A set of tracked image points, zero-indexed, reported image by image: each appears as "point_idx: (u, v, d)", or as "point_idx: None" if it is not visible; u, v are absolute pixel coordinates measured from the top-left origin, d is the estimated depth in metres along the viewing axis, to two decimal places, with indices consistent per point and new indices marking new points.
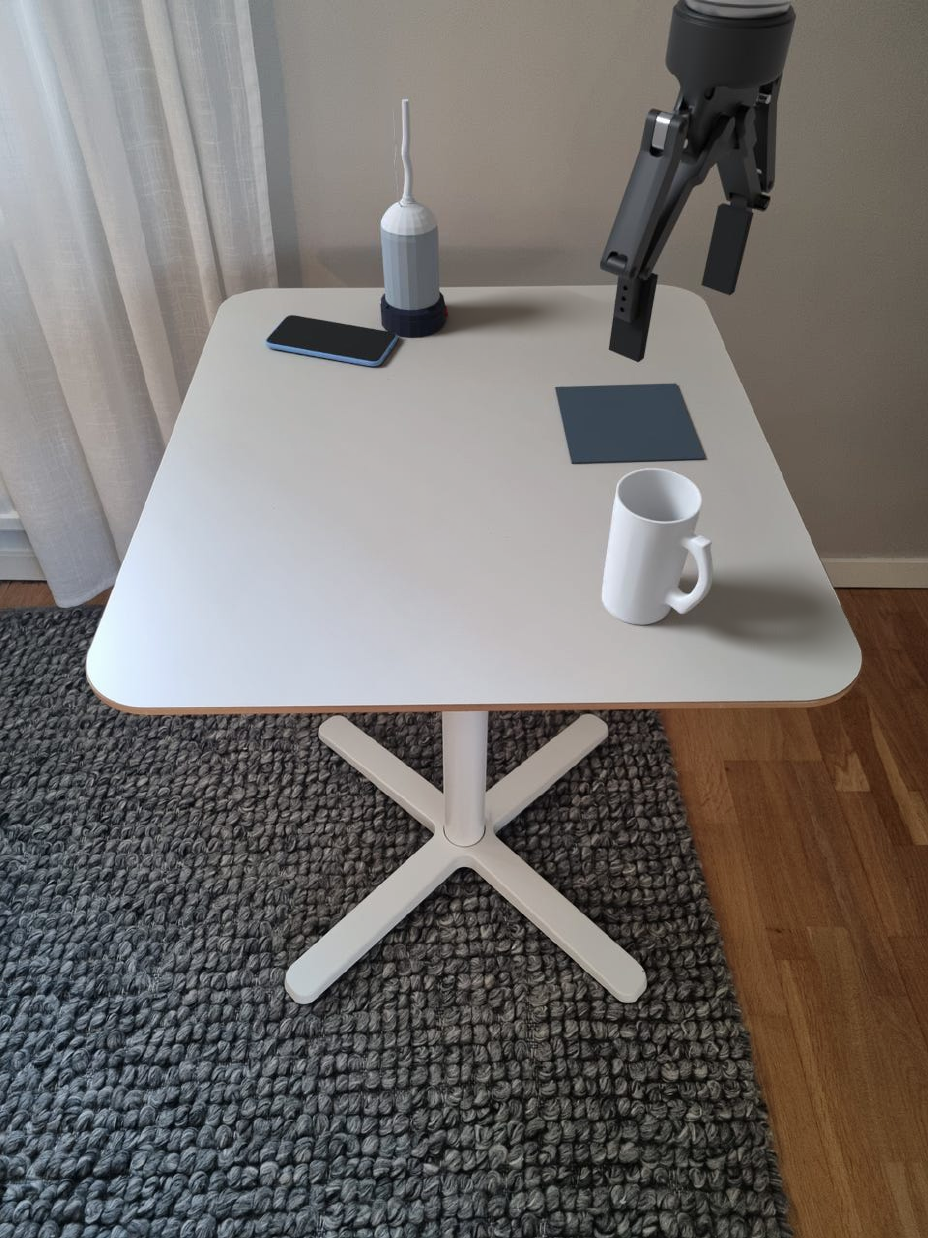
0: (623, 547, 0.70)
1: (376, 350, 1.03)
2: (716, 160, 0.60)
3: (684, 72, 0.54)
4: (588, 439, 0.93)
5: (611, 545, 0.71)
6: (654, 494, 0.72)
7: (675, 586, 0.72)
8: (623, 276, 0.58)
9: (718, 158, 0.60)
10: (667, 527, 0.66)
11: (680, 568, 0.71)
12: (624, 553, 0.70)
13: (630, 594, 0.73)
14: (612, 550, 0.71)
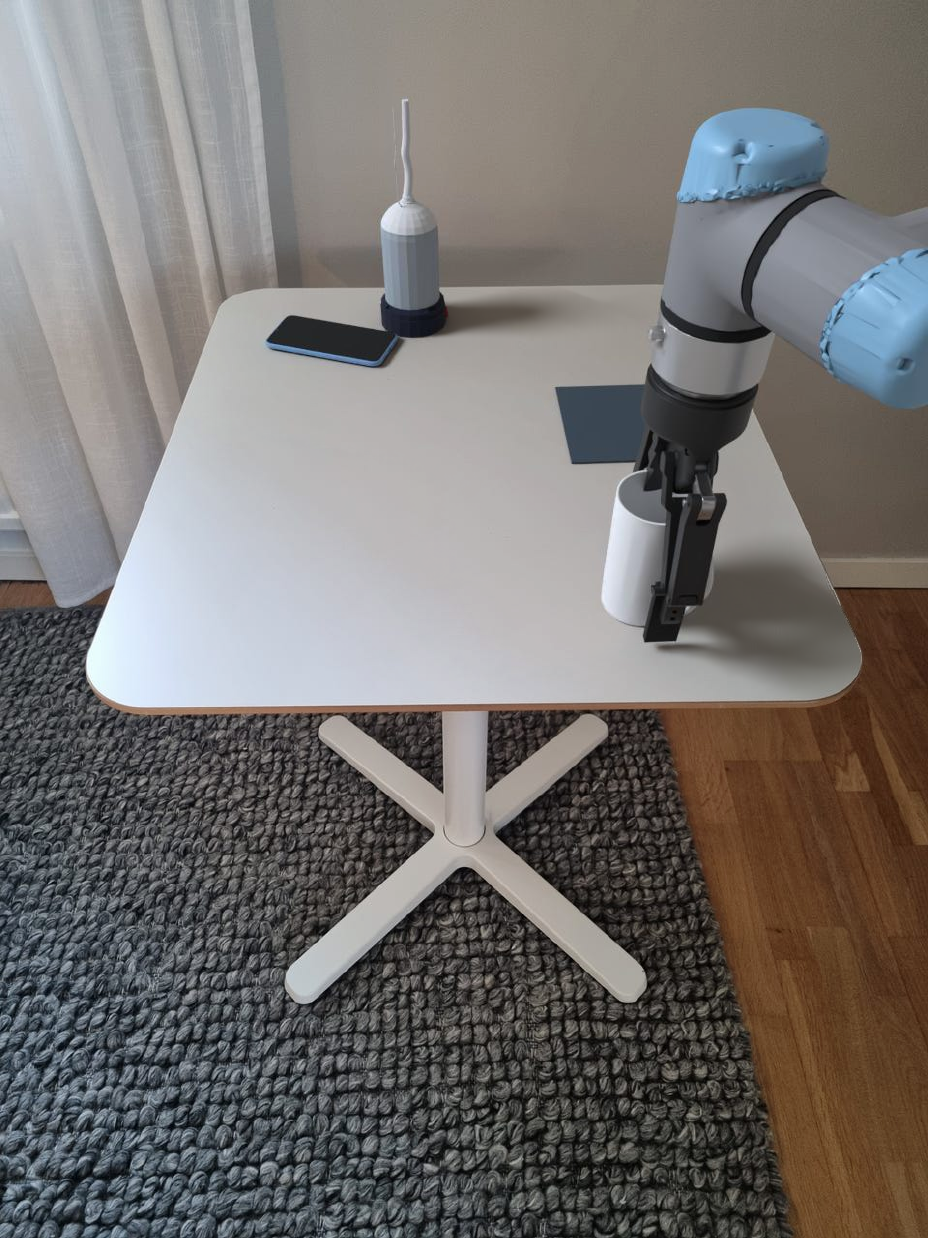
0: (624, 549, 0.69)
1: (376, 350, 1.03)
2: None
3: (696, 444, 0.59)
4: (588, 439, 0.93)
5: (611, 547, 0.71)
6: (654, 495, 0.72)
7: None
8: None
9: None
10: None
11: None
12: (625, 555, 0.70)
13: (631, 596, 0.72)
14: (612, 552, 0.71)
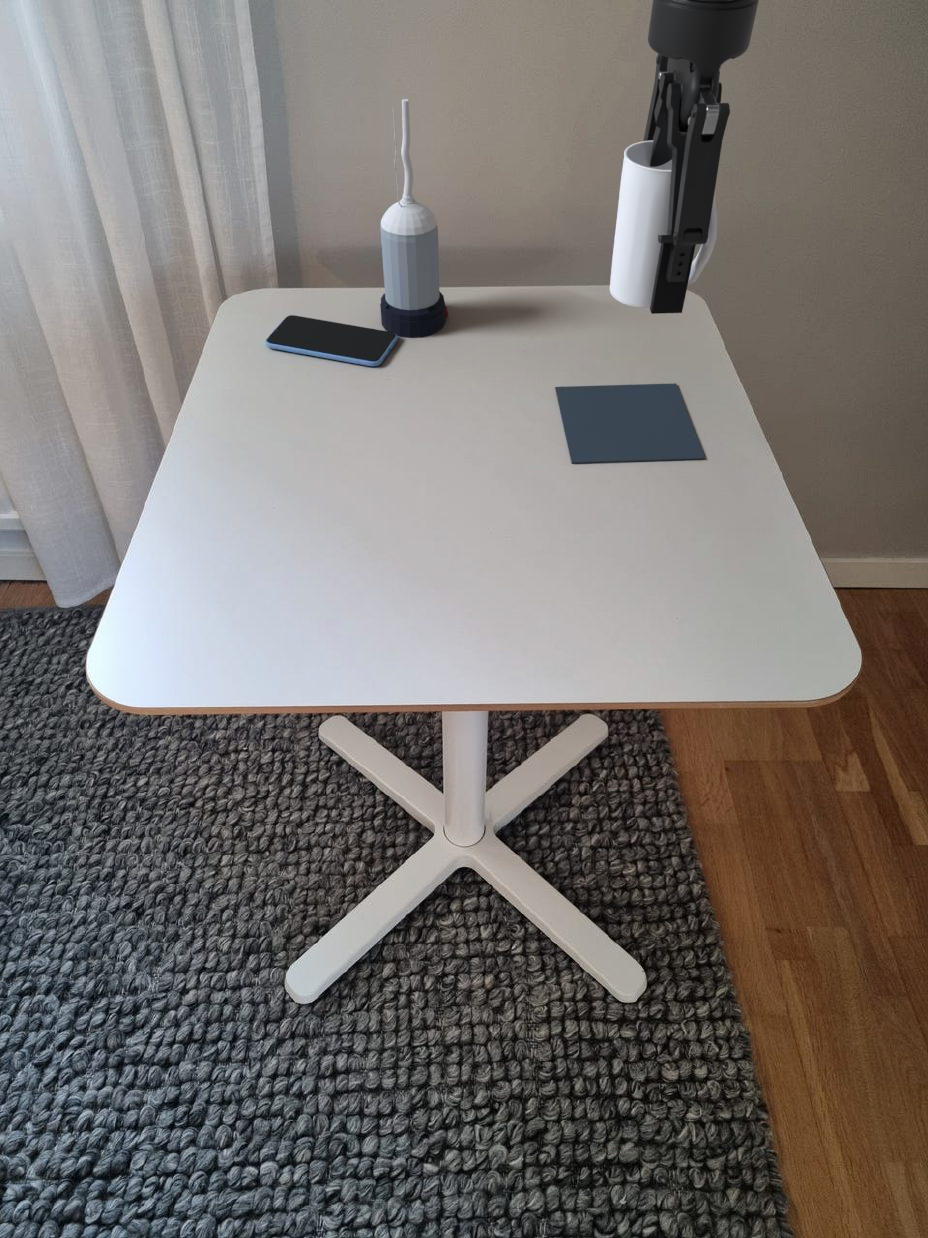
0: (631, 211, 0.73)
1: (376, 350, 1.03)
2: None
3: (700, 54, 0.63)
4: (588, 439, 0.93)
5: (619, 217, 0.75)
6: None
7: None
8: (699, 243, 0.69)
9: None
10: None
11: None
12: (632, 218, 0.74)
13: (638, 269, 0.76)
14: (620, 222, 0.75)
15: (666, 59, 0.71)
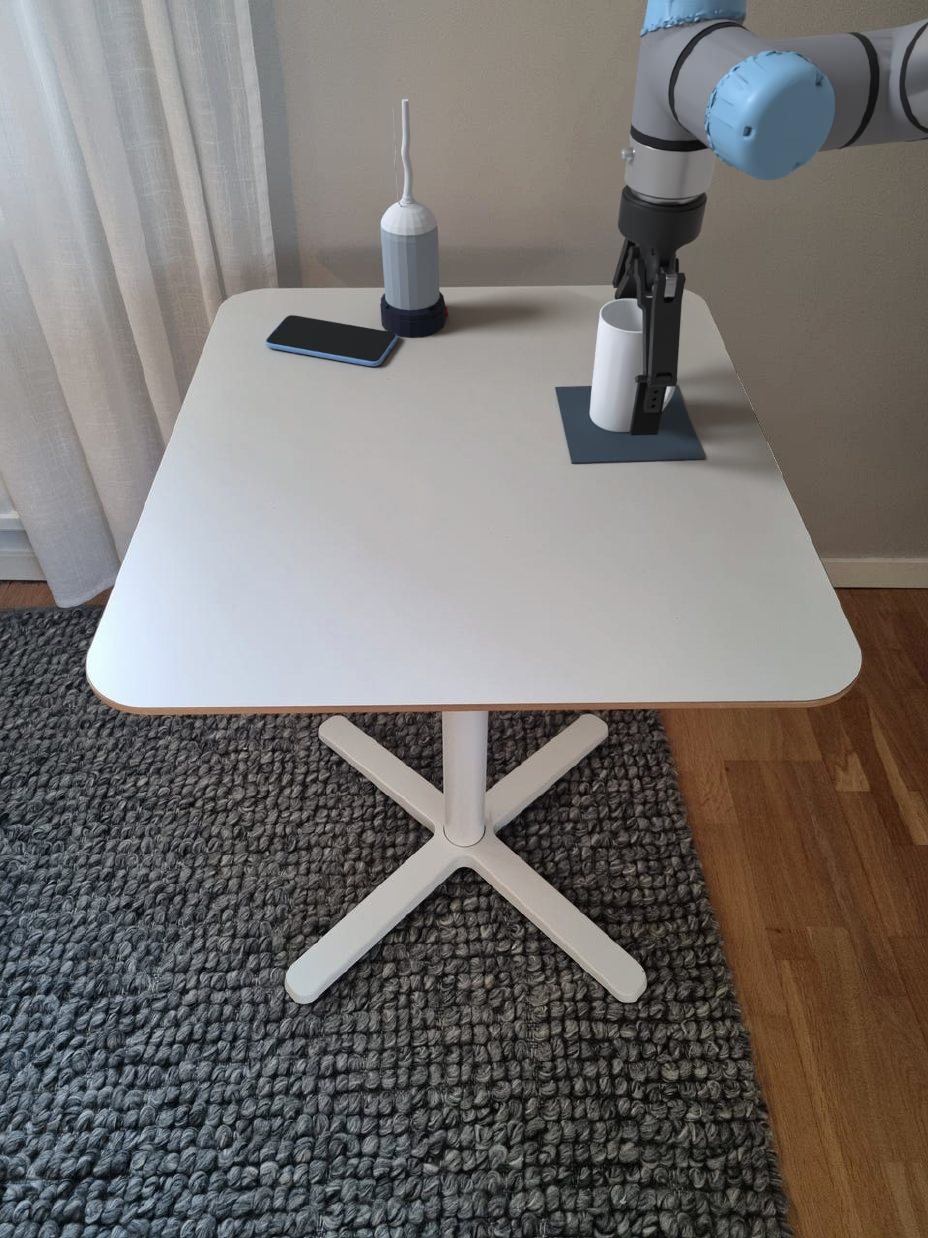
0: (606, 359, 0.88)
1: (376, 350, 1.03)
2: None
3: (659, 243, 0.77)
4: (588, 439, 0.93)
5: (596, 361, 0.90)
6: (630, 322, 0.91)
7: None
8: (670, 385, 0.80)
9: None
10: (640, 336, 0.85)
11: None
12: (607, 365, 0.88)
13: (612, 403, 0.91)
14: (597, 365, 0.90)
15: None
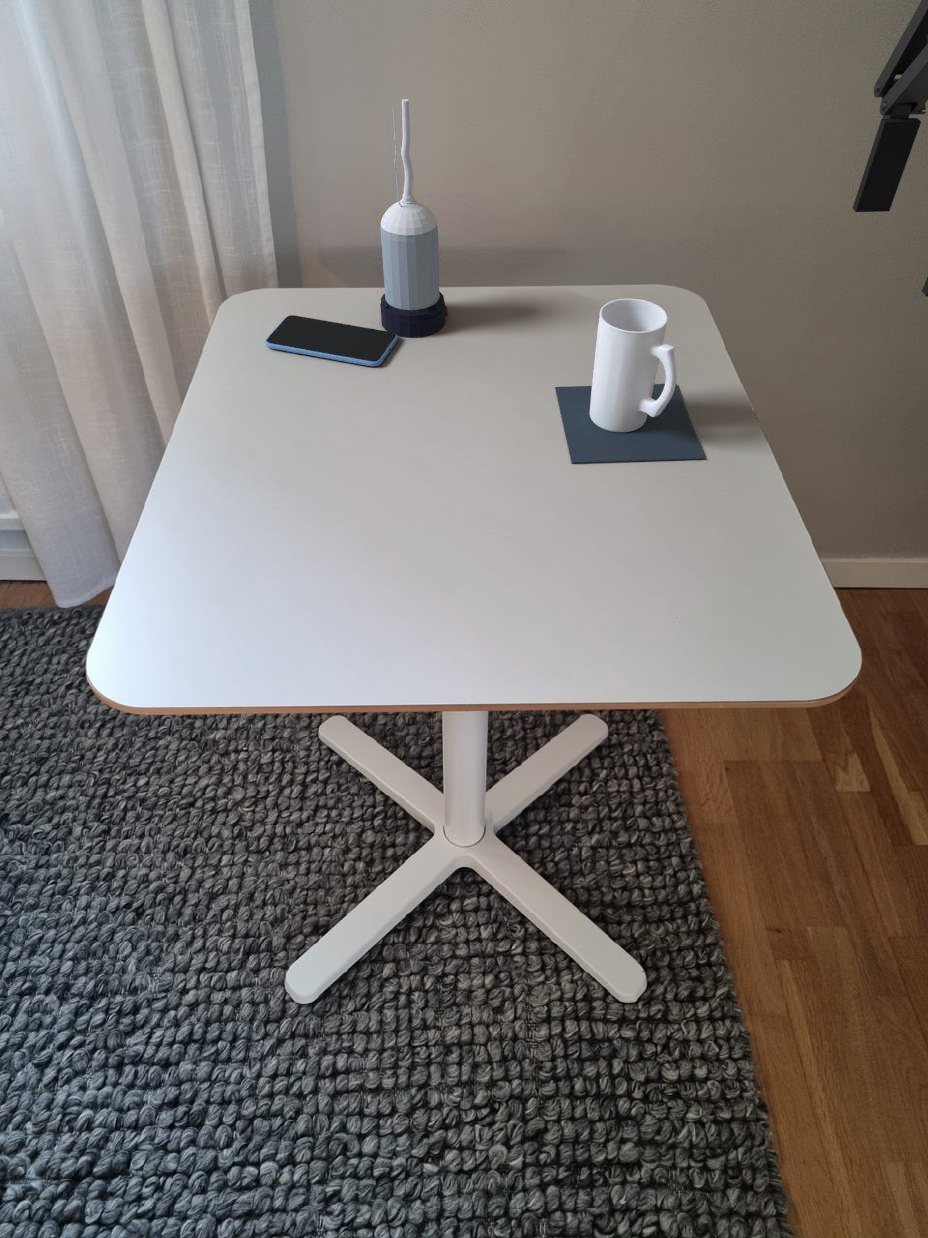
0: (606, 359, 0.88)
1: (376, 350, 1.03)
2: None
3: None
4: (588, 439, 0.93)
5: (596, 361, 0.90)
6: (630, 322, 0.91)
7: (648, 395, 0.91)
8: None
9: None
10: (640, 336, 0.85)
11: (651, 379, 0.90)
12: (607, 365, 0.88)
13: (612, 403, 0.91)
14: (597, 365, 0.90)
15: None
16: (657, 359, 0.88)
